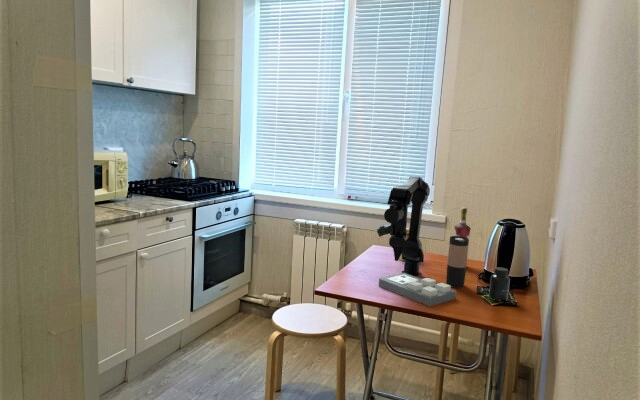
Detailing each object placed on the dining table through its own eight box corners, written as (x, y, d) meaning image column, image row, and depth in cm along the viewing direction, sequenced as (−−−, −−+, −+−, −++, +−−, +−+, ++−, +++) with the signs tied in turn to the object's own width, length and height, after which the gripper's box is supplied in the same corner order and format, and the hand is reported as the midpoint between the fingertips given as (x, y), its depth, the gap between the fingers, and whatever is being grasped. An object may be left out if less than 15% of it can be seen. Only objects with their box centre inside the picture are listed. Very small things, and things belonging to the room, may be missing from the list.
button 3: (428, 294, 176) (428, 286, 175) (436, 297, 173) (437, 289, 172) (421, 296, 173) (421, 288, 173) (429, 299, 170) (430, 291, 170)
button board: (403, 279, 198) (404, 272, 197) (455, 298, 178) (456, 290, 177) (378, 285, 189) (379, 277, 188) (430, 306, 169) (430, 297, 168)
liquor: (449, 263, 225) (454, 206, 221) (465, 264, 225) (470, 207, 221) (452, 267, 218) (457, 208, 214) (468, 269, 218) (474, 209, 213)
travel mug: (451, 280, 199) (455, 235, 196) (468, 285, 194) (472, 238, 191) (441, 284, 194) (446, 237, 191) (458, 289, 188) (463, 241, 185)
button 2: (427, 285, 186) (427, 277, 186) (435, 288, 183) (435, 280, 183) (420, 287, 184) (421, 279, 183) (428, 290, 181) (429, 282, 180)
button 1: (413, 288, 181) (414, 280, 181) (421, 292, 178) (422, 283, 178) (406, 290, 179) (407, 282, 178) (414, 293, 176) (415, 285, 175)
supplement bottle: (505, 303, 175) (509, 272, 173) (486, 299, 179) (489, 269, 177) (509, 298, 181) (512, 268, 179) (490, 294, 184) (493, 265, 182)
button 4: (441, 290, 181) (442, 282, 180) (450, 293, 178) (450, 285, 177) (434, 292, 178) (435, 284, 178) (443, 295, 175) (444, 287, 175)
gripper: (380, 212, 193) (378, 249, 195) (376, 222, 175) (374, 262, 177) (407, 215, 191) (405, 252, 193) (407, 224, 173) (404, 265, 175)
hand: (396, 257), depth 185 cm, fingers open, 9 cm apart
